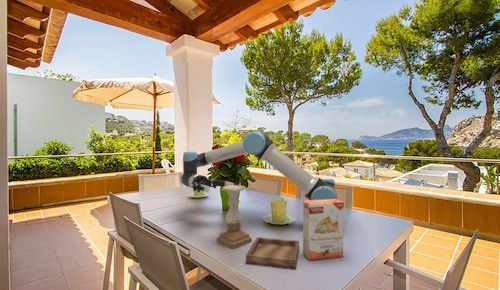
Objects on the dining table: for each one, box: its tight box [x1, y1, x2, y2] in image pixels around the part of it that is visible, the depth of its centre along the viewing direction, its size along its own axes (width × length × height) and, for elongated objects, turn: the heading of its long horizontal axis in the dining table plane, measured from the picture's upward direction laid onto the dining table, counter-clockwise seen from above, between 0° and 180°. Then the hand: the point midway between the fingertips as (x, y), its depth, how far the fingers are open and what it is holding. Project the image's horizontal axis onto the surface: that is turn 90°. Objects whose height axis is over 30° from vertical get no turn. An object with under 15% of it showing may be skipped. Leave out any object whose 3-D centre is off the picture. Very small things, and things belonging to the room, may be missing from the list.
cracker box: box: [302, 198, 345, 261], centre depth 96 cm, size 14×6×21 cm, turn 101°
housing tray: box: [245, 236, 300, 270], centre depth 97 cm, size 17×17×3 cm
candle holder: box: [216, 184, 253, 250], centre depth 110 cm, size 11×11×24 cm
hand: (221, 187), depth 117 cm, fingers open, 13 cm apart
